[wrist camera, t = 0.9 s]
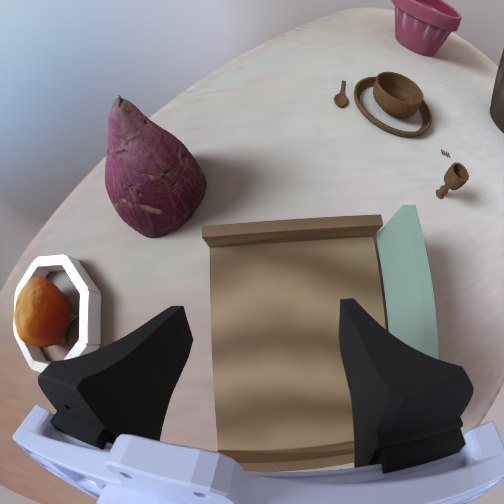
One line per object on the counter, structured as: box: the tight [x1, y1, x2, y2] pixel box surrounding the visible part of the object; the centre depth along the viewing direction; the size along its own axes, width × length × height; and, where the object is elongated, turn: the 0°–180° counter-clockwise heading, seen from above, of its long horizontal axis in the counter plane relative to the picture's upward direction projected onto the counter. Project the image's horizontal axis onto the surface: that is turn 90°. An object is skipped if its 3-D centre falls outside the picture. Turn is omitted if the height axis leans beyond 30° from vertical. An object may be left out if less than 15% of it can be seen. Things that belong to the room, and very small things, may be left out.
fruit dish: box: [13, 254, 101, 372], centre depth 26 cm, size 14×14×2 cm
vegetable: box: [105, 95, 206, 238], centre depth 26 cm, size 10×10×15 cm
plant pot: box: [392, 0, 461, 56], centre depth 32 cm, size 14×14×13 cm
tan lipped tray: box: [202, 215, 386, 472], centre depth 23 cm, size 22×16×4 cm
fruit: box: [14, 276, 79, 347], centre depth 25 cm, size 8×8×8 cm
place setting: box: [334, 72, 469, 199], centre depth 29 cm, size 18×20×6 cm
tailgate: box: [376, 205, 439, 360], centre depth 20 cm, size 20×1×7 cm, turn 3°
